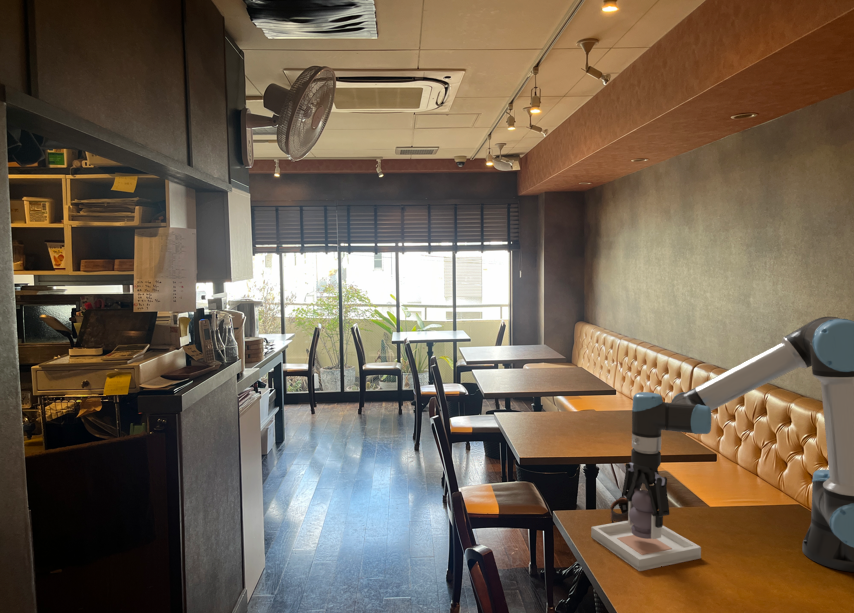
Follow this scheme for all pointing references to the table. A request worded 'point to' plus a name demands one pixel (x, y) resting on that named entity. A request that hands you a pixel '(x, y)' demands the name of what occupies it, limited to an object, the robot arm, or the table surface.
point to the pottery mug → (623, 505)
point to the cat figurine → (641, 514)
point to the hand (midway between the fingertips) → (644, 530)
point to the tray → (645, 546)
